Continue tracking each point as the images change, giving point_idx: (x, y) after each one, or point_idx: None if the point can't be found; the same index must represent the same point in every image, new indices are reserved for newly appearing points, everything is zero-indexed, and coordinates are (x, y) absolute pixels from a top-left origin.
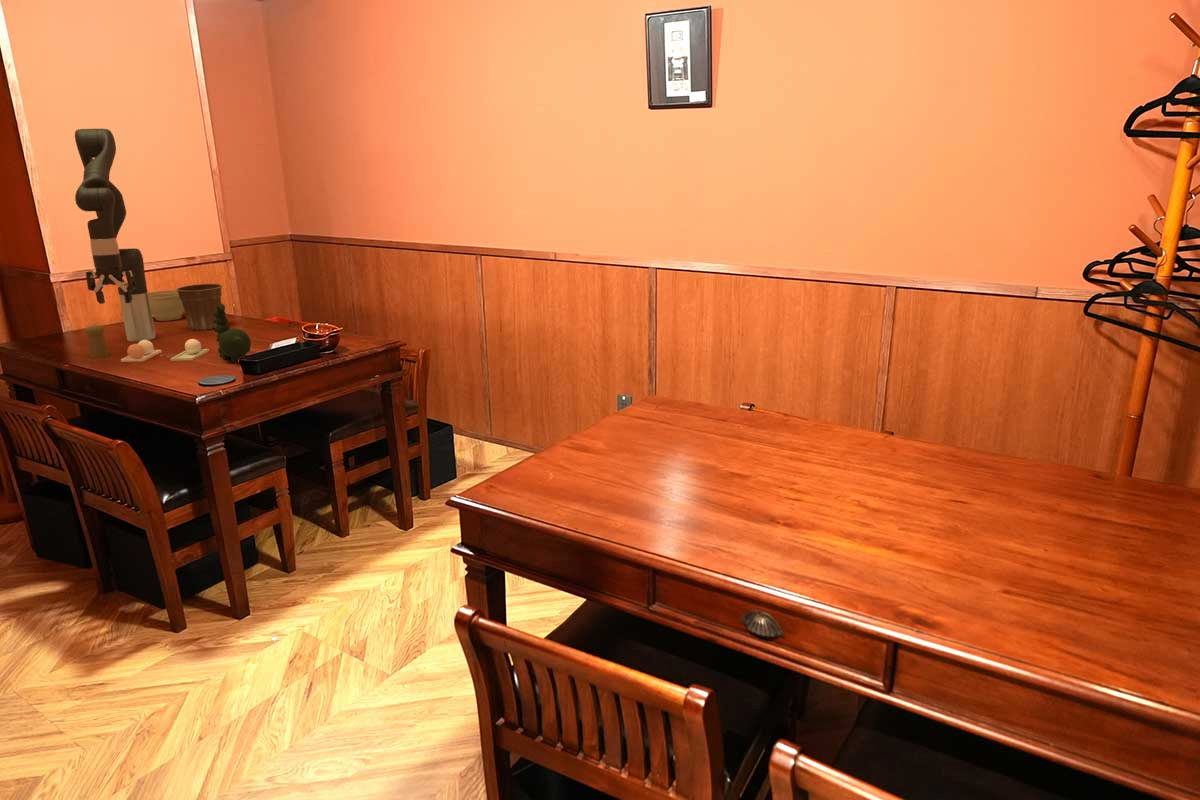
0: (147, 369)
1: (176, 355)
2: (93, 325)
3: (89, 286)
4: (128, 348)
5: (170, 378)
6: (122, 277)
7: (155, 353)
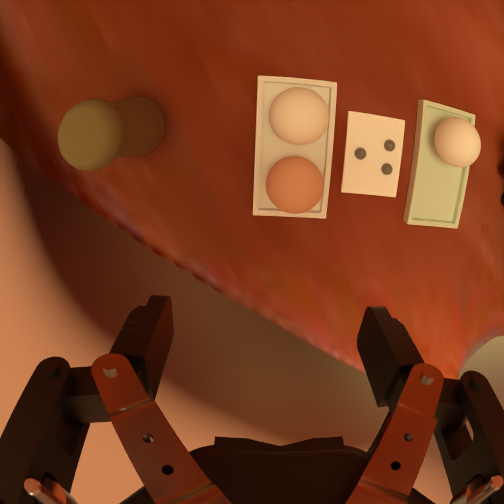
0: (361, 293)
1: (415, 185)
2: (77, 135)
3: (70, 432)
4: (277, 204)
5: None
6: (422, 497)
7: (333, 127)
